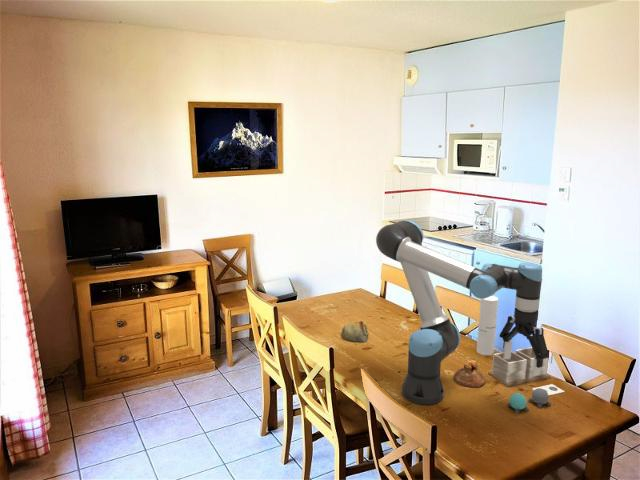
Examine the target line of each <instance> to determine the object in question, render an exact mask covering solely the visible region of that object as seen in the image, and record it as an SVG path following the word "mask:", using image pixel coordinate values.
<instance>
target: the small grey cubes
mask: <svg viewBox="0 0 640 480" xmlns="http://www.w3.org/2000/svg"><path fill="white" fill-rule="evenodd" d="M528 402H529V403H534V400H533V398H532V397H529V398H528ZM545 404H546V406H548V407H551V405H552V402H550V401H547V403H545ZM505 406H506V407H507V408H511V407H512V406H511V404H510V402H508V403H507V402H506V405H505ZM536 407H537V408H538V409H542V407H543V404H537V406H536ZM523 409H524V411H525V412H529V409H530V408H529V407H528V406H525V408H523ZM514 413H515V414H517V415H518V414H520V410H518V409H514Z"/></svg>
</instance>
